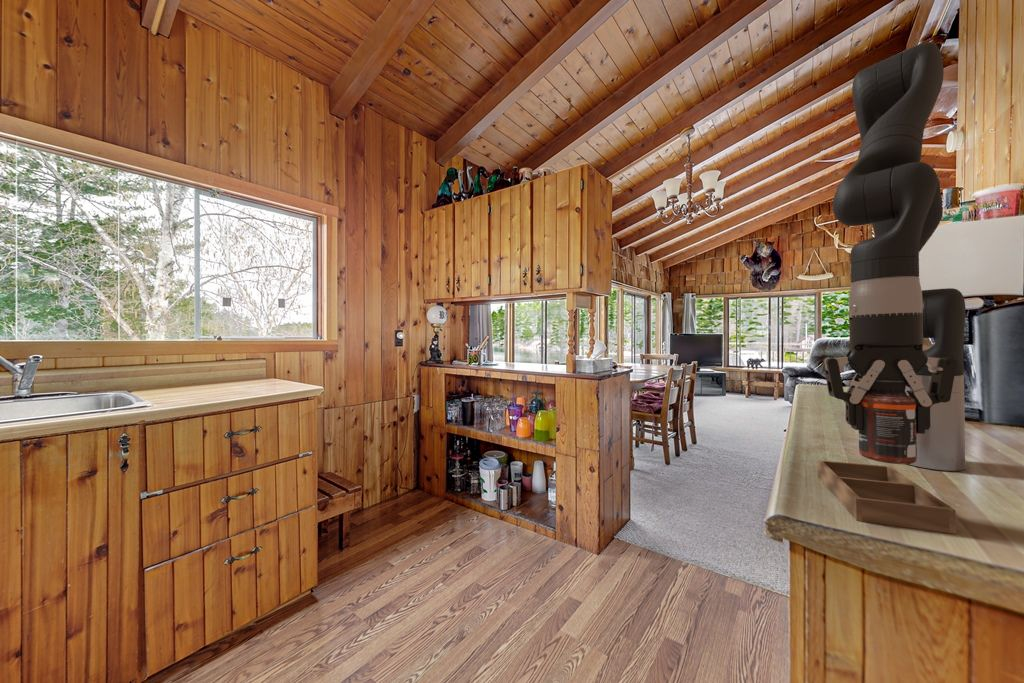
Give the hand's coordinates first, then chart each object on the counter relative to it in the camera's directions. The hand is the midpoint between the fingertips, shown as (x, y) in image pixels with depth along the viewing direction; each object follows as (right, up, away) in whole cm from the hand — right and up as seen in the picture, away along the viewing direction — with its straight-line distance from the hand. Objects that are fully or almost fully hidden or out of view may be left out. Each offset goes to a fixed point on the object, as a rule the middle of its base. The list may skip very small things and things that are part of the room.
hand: (886, 430), depth 55 cm
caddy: (+2, -12, +4) cm, 12 cm away
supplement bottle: (0, -4, 0) cm, 4 cm away
